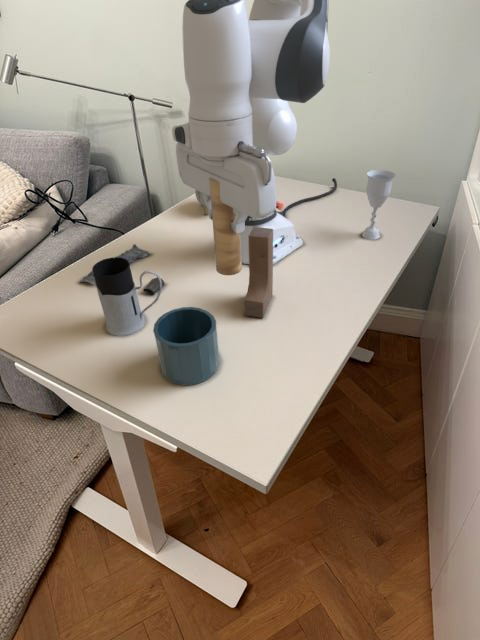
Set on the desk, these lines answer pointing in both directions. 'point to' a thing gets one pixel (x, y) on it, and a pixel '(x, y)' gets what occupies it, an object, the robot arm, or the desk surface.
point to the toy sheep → (201, 200)
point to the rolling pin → (224, 234)
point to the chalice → (377, 197)
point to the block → (153, 286)
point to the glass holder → (120, 296)
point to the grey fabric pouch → (127, 255)
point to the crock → (187, 345)
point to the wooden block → (259, 272)
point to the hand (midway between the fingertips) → (226, 225)
